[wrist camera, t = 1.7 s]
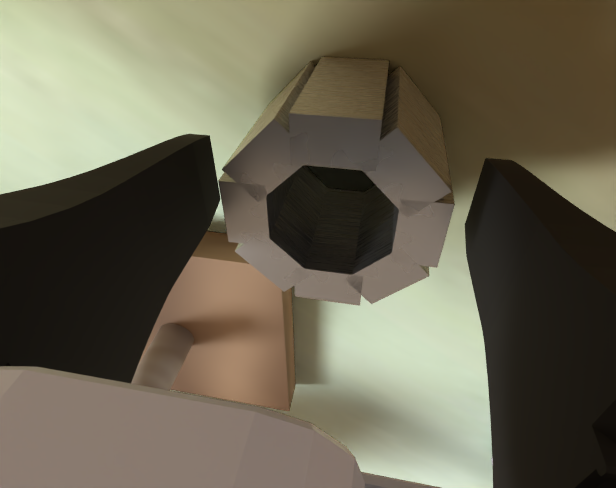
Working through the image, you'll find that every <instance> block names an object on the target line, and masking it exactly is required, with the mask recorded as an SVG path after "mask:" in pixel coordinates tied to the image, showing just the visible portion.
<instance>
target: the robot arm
mask: <svg viewBox="0 0 616 488" xmlns="http://www.w3.org/2000/svg"><path fill="white" fill-rule="evenodd" d="M219 201H220V194H219V188H218V182H217V176H216V170H215V164H214V158H213V153H212V147H211V141H210V136H208V135H196V134H186V135H182V136H178V137H175V138H173V139H170V140H167V141H165V142H162V143H160V144H157V145H155V146H152V147H150V148H147V149H145V150H143V151H140V152H138V153H135V154H133V155H130V156H128V157H126V158H123V159H120V160H118V161H115V162H112V163H110V164H107V165H104V166H102V167H99V168H96V169H94V170H91V171H88V172H85V173H82V174H79V175H76V176H73V177H70V178H66V179H63V180H59V181H56V182H52V183H49V184H45V185H41V186H37V187H33V188H28V189H24V190H19V191H14V192H10V193H5V194H1V195H0V488H440V487H435V486H430V485H425V484H420V483H415V482H410V481H405V480H400V479H394V478H389V477H384V476H379V475H374V474H369V473H364V472H361V471H360V469H359V466H358V464H357V462H356V459H355V457H354V456H353V455H352V453H351V452H350V451H349V450H348V449H347V447H346V446H344V445H343V444H341V443H340V442H338V441H337V440H335V439H334V438H332V437H331V436H329V435H328V434H326V433H325V432H323V431H322V430H321V429H319V428H318V427H316V426H315V425H313V424H312V423H310V422H306V421H303V420H300V419H297V418H294V417H290V416H287V415H284V414H281V413H278V412H275V411H271V410H268V409H265V408H262V407H258V406H252V405H247V404H241V403H236V402H230V401H225V400H219V399H214V398H208V397H202V396H197V395H191V394H186V393H180V392H175V391H169V390H164V389H158V388H153V387H147V386H141V385H136V384H131V382H132V380H133V377H134V374H135V372H136V369H137V366H138V364H139V361H140V359H141V356H142V354H143V351H144V349H145V346H146V344H147V342H148V339H149V337H150V334H151V332H152V330H153V327H154V325H155V323H156V321H157V318H158V316H159V314H160V312H161V310H162V308H163V305H164V303H165V301H166V299H167V297H168V295H169V293H170V291H171V289H172V288H173V286H174V284H175V282H176V281H177V279H178V277H179V276H180V274H181V273H182V271H183V269H184V268H185V266H186V264H187V263H188V261H189V259H190V258H191V256H192V255H193V253H194V251H195V250H196V248H197V246H198V245H199V243H200V241H201V240H202V238H203V236H204V235H205V233H206V231H207V230H208V228H209V226H210V224H211V221H212V219H213V217H214V214H215V212H216V209H217V206H218V204H219ZM465 238H466V254H467V260H468V265H469V270H470V275H471V280H472V284H473V289H474V293H475V298H476V302H477V307H478V311H479V316H480V320H481V325H482V330H483V336H484V342H485V353H486V363H487V374H488V387H489V401H490V415H491V436H492V458H491V461H492V465H493V488H616V232H615V231H613V230H611V229H610V228H608V227H606V226H605V225H603V224H602V223H600V222H599V221H597V220H596V219H594V218H593V217H591V216H590V215H588V214H586V213H585V212H583V211H582V210H580V209H579V208H578V207H576V206H575V205H573V204H572V203H570V202H569V201H568V200H566V199H565V198H564V197H562V196H561V195H559V194H558V193H557V192H555V191H554V190H553V189H551V188H550V187H549V186H547V185H546V184H545V183H544V182H542V181H541V180H540V179H538V178H537V177H536V176H534V175H533V174H532V173H530V172H529V171H528V170H526V169H525V168H523V167H522V166H521V165H519V164H517V163H516V162H514V161H512V160H501V159H489V158H486V159H485V162H484V165H483V168H482V171H481V175H480V178H479V181H478V184H477V188H476V191H475V194H474V197H473V200H472V204H471V207H470V210H469V213H468V216H467V220H466V223H465Z"/></svg>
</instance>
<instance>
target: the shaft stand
mask: <svg viewBox="0 0 616 488" xmlns="http://www.w3.org/2000/svg"><path fill="white" fill-rule="evenodd" d="M238 244H239V243H234V242H229V241H228V235H227V234H226V233H217V232H209V231H206V233H205V235H204V236H203V238H202V240H201V241H200V243H199V245H198V246H197V248H196V250H195V251H194V253H193V255H192V256H191V258H190V259H189V261H188V263H187V264H186V266H185V268H184V269H183V271H182V273H181V274H180V276H179V277H178V279H177V281H176V282H175V284H174V286H173V288H172V289H171V291H170V293H169V295H168V297H167V299H166V301H165V303H164V305H163V308H162V310H161V312H160V314H159V316H158V318H157V321H156V323H155V325H154V327H153V330H152V332H151V334H150V337H149V339H148V342H147V344H146V346H145V349H144V351H143V354H142V356H141V359H140V361H139V364H138V366H137V369H136V372H135V374H134V377H133V380H132V382H131V384H136V385H141V386H147V387H153V388H158V389H164V390H169V391H170V389H171V390H176V391H181V392H187V393H192V394H198V395H203V396H209V397H214V398H220V399H225V400H231V401H236V402H242V403H247V404H252V405H258V406H263V407H269V408H274V409H280V410H285V411H289V410H290V406H291V402H292V397H293V393H294V389H295V362H294V337H293V312H292V287H291V288H290V289H288V290H286V291H285V292H284V291H282V290H281V289H280V288H279V287H278V286H276V285H275V284H274V283H273V282H271V281H270V280H269V279H268V278H267V277H265V276H264V275H263V274H262V273H260V272H259V271H258V270H257V269H256V268H254V267H253V266H252V265H251V264H249V263H248V262H247V261H246V260H245V259H243V258H242V257H241V256H240V255H238V254H237V253H236V252H235V250H236V248H237V246H238Z"/></svg>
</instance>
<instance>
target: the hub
mask: <svg viewBox="0 0 616 488" xmlns="http://www.w3.org/2000/svg"><path fill="white" fill-rule="evenodd" d="M388 67H389V60H375V59H356V58H336V57H321V59H320V61H319V63H318V64H317V66H315V65H314V64H313V63H312V62H311V61H310V62H309V63H308V64H307V66H306V67H305V68H304V69H303V70H302V71H301V72H300V73H299V74H298V75H297V76H296V77H295V78H294V79H293V80H292V81H291V82H290V83H289V84H288V85H287V86H286V87H285V88H284V89H283V90H282V91H281V92H280V93H279V94H278V95H277V96H276V97H275V98H274V99H273V100H272V101H271V102H270V103H269V104H268V106H267V107H266V109H265V110H264V111H263V113H262V114H261V116H260V117H259V118H258V120H257V121H256V123H255V124H254V125H253V127H252V128H251V130H250V131H249V132H248V134H247V135H246V137H245V138H244V139H243V141H242V142H241V144H240V145H239V146H238V148H237V149H236V151H235V152H234V153H233V155H232V156H231V157H230V159H229V160H228V162H227V163H226V164H225V166H224V167H223V169H222V170H223V171H224V174H223V175H222V177H221V178H220V179H219V187H220V193H221V199H222V205H223V211H224V217H225V223H226V229H227V235H228V241H229V242H234V243H239V244H238V246H237V248H236V250H235V252H236V253H237V254H238V255H240V256H241V257H242V258H243V259H245V260H246V261H247V262H248V263H249V264H251V265H252V266H253V267H254V268H256V269H257V270H258V271H259V272H260V273H262V274H263V275H264V276H265V277H267V278H268V279H269V280H270V281H271V282H273V283H274V284H275V285H276V286H278V287H279V288H280V289H281V290H282V291H284V292H285V291H286V290H288V289H290V288H291V287H293V286H295V296H296V297H303V298H310V299H317V300H324V301H331V302H338V303H346V304H353V305H360V300H361V295H362V296H363V297H364V298H365V299H366V300H368V301H369V302H370V303H371V304H372V303H374V302H377V301H379V300H381V299H383V298H385V297H387V296H389V295H391V294H393V293H395V292H397V291H399V290H401V289H403V288H405V287H408V286H410V285H412V284H414V283H416V282H418V281H420V280H422V279H424V278H426V277H428V276H429V267H437V266H438V262H439V259H440V255H441V252H442V248H443V244H444V241H445V237H446V234H447V230H448V227H449V223H450V219H451V216H452V212H453V209H454V205H455V204H454V198H453V191H452V185H451V179H450V173H449V167H448V160H447V154H446V148H445V142H444V136H443V129H442V127H441V121H440V116H439V114H438V113H437V112H436V111H435V109H434V108H433V107H432V106H431V104H430V103H429V102H428V100H427V99H426V98H425V97H424V95H423V94H422V93H421V92H420V90H419V89H418V88H417V87H416V85H415V84H414V83H413V81H412V80H411V79H410V78H409V76H408V75H407V74H406V73H405V71H404V70H403V69H402V67H401V66H399V67H398V68H397V69H396V70H395V71H394V72H392V73H391V74H390V75H389V76H388V77H387V75H388ZM305 165H308V166H319V167H330V168H341V169H352V170H362V171H363V172H364V173H365V174H366V175H367V176H368V177H369V178H370V179H371V180H372V181H373V182H374V183H375V185H374V186H373V187H371V188H370V189H368V190H367V191H365V192H362V191H352V190H342V189H332V188H327V187H326V186H325V185H324V184H323V183H322V182H321V181H320V180H319V179H318V178H317V177H316V176H315V175H314V174H313V173H312V172H311V171H310V170H309V169H308V168H307V167H306V166H305Z"/></svg>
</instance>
